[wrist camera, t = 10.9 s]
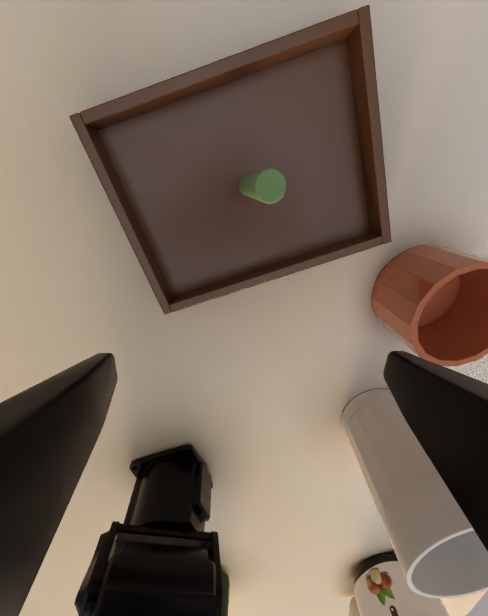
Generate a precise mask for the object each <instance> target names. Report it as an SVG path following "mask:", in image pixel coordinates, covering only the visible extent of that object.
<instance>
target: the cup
mask: <svg viewBox="0 0 488 616" xmlns="http://www.w3.org/2000/svg"><path fill="white" fill-rule="evenodd" d="M341 421H342V426H343V428H344V430H345V432H346V434H347V436H348V438H349V440H350V443H351V445H352V448H353V450H354V452H355V455H356V457H357V460H358V462H359V465H360V467H361V470H362V472H363V474H364V477H365V479H366V482H367V484H368V487H369V489H370V492H371V494H372V496H373V499H374V501H375V504H376V506H377V509H378V511H379V514H380V516H381V519H382V521H383V523H384V526H385V528H386V531H387V533H388V536H389V539H390V541H391V544H392V546H393V549H394V551H395V554H396V556H397V559H398V561H399V564H400V566H401V569H402V571H403V574H404V576H405V579H406V582H407V584H408V586H409V587H410V588H411V590H413V591H414V592H415V593H417V594H419V595H422V596H425V597H430V598H456V597H462V596H467V595H471V594H475V593H478V592H482V591H485V590H487V589H488V552H487V550H486V549H485V547H484V545H483V544H482V542H481V541H480V539H479V537H478V536H477V534H476V533H475V531H474V529H473V528H472V526H471V525H470V523H469V521H468V520H467V518H466V517H465V515H464V513H463V512H462V510H461V509H460V507H459V505H458V504H457V502H456V501H455V499H454V497H453V496H452V494H451V493H450V491H449V489H448V488H447V486H446V485H445V483H444V481H443V480H442V478H441V477H440V475H439V473H438V472H437V470H436V469H435V467H434V466H433V464H432V462H431V461H430V459H429V458H428V456H427V454H426V453H425V451H424V450H423V448H422V446H421V445H420V443H419V442H418V440H417V438H416V437H415V435H414V434H413V432H412V430H411V429H410V427H409V426H408V424H407V422H406V421H405V419H404V417H403V415H402V413H401V411H400V409H399V407H398V405H397V403H396V401H395V399H394V397H393V395H392V393H391V391H390V390H388V389H374V390H370V391H366V392H364V393H362V394H360V395H358V396H356V397H355V398H354V399H352V400H351V401H350V402H349V403H348V405H347V406H346V407H345V409H344V411H343V414H342V419H341Z"/></svg>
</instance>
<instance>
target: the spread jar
mask: <svg viewBox="0 0 488 616" xmlns="http://www.w3.org/2000/svg"><path fill="white" fill-rule="evenodd" d="M354 593H355V595H354V596H353V598H352V599H351V602H350V607H349V616H449V615H448V613H447V611H446V609H445V607H444V605H443V603H442V601H441V599H440V598H430V597H425V596H422V595H419V594H417V593H415V592H414V591H413V590H411V588H410V587H409V586H408V584H407V582H406V579H405V576H404V574H403V571H402V569H401V566H400V564H399V561H398V559H397V556H396V554H395V553H386V554H380V555H377V556H374V557H372V558H370V559H368V560H366V561H365V562H364V563H363V564H362V565H361V566H360V568H359V570H358V571H357V574H356V576H355V581H354Z"/></svg>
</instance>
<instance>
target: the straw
mask: <svg viewBox="0 0 488 616" xmlns="http://www.w3.org/2000/svg"><path fill="white" fill-rule="evenodd" d="M239 190H240V192H241V193H242V194H243V195H246V196H248V197H251V198H253V199H256V200H259V201H261V202H264V203H267V204H272V203H275V202H277V201H279V200H280V199H281V198H282V197H283V195H284V193H285V191H286V180H285V178H284V176H283V174H282V173H281V172H280V171H278V170H276V169H265V170H263V171H260V172H257V173H255V174H252V175H249V176H247V177H244V178H242V179H241V180H240V182H239Z"/></svg>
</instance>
